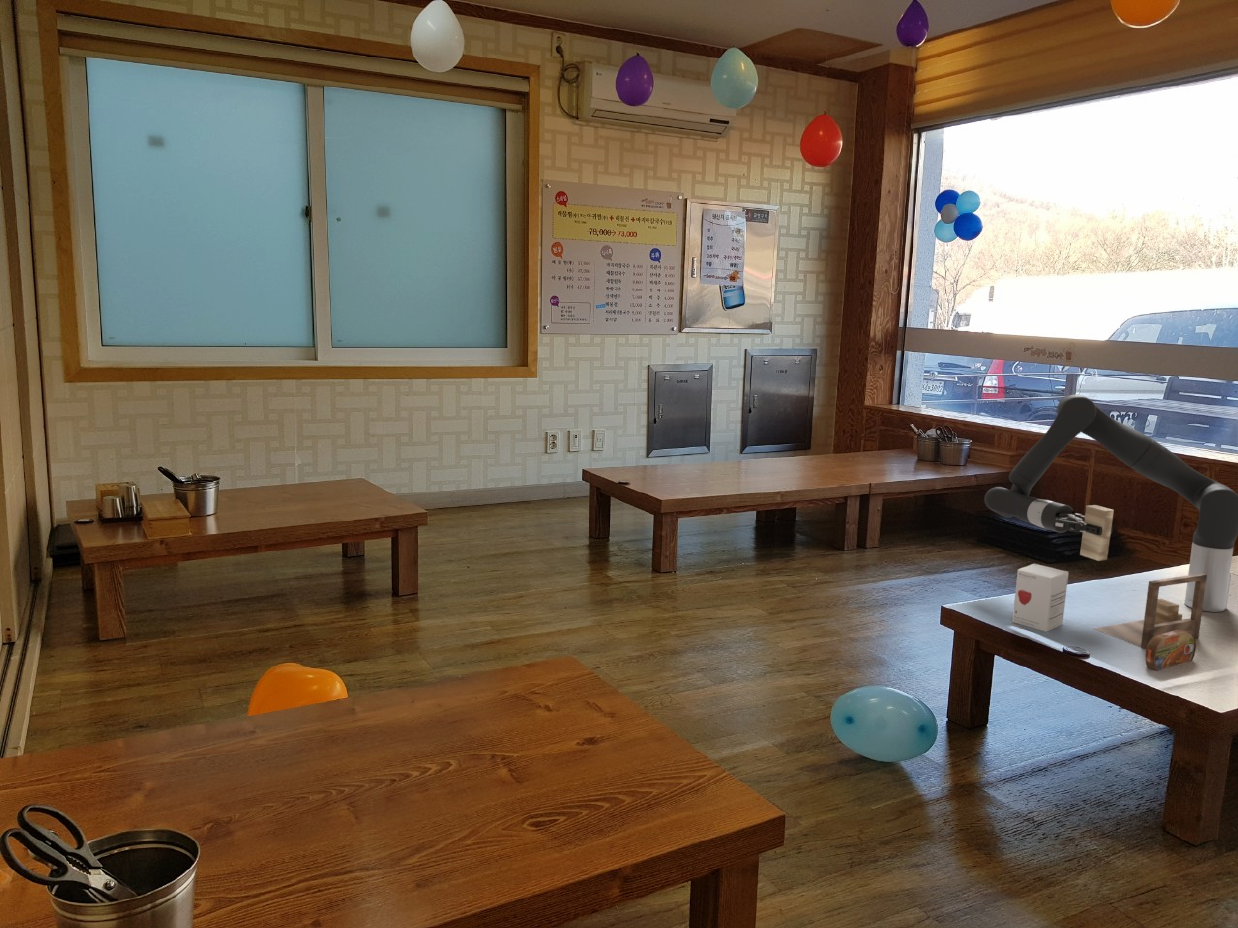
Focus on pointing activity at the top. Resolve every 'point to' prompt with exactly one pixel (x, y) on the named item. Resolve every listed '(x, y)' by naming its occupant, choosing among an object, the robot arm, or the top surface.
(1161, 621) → the offcut mid
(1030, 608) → the supplement box
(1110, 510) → the pale wooden block
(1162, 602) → the offcut top
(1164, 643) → the tin
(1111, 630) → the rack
